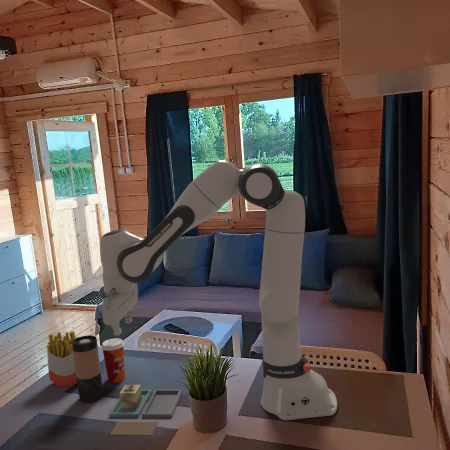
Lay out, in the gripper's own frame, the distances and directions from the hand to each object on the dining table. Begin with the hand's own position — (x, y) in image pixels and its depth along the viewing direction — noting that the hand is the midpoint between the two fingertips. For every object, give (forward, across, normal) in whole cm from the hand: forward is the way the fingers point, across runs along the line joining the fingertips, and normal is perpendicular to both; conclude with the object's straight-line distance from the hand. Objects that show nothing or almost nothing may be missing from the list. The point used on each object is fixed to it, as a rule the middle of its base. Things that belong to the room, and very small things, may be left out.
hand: (123, 328), depth 134 cm
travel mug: (+25, +4, +15) cm, 30 cm away
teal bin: (+25, 0, 0) cm, 25 cm away
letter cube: (+25, 0, 0) cm, 25 cm away
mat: (+25, -12, -5) cm, 29 cm away
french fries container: (+25, +14, +28) cm, 40 cm away
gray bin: (+25, 0, -10) cm, 27 cm away
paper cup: (+25, +16, +11) cm, 32 cm away
